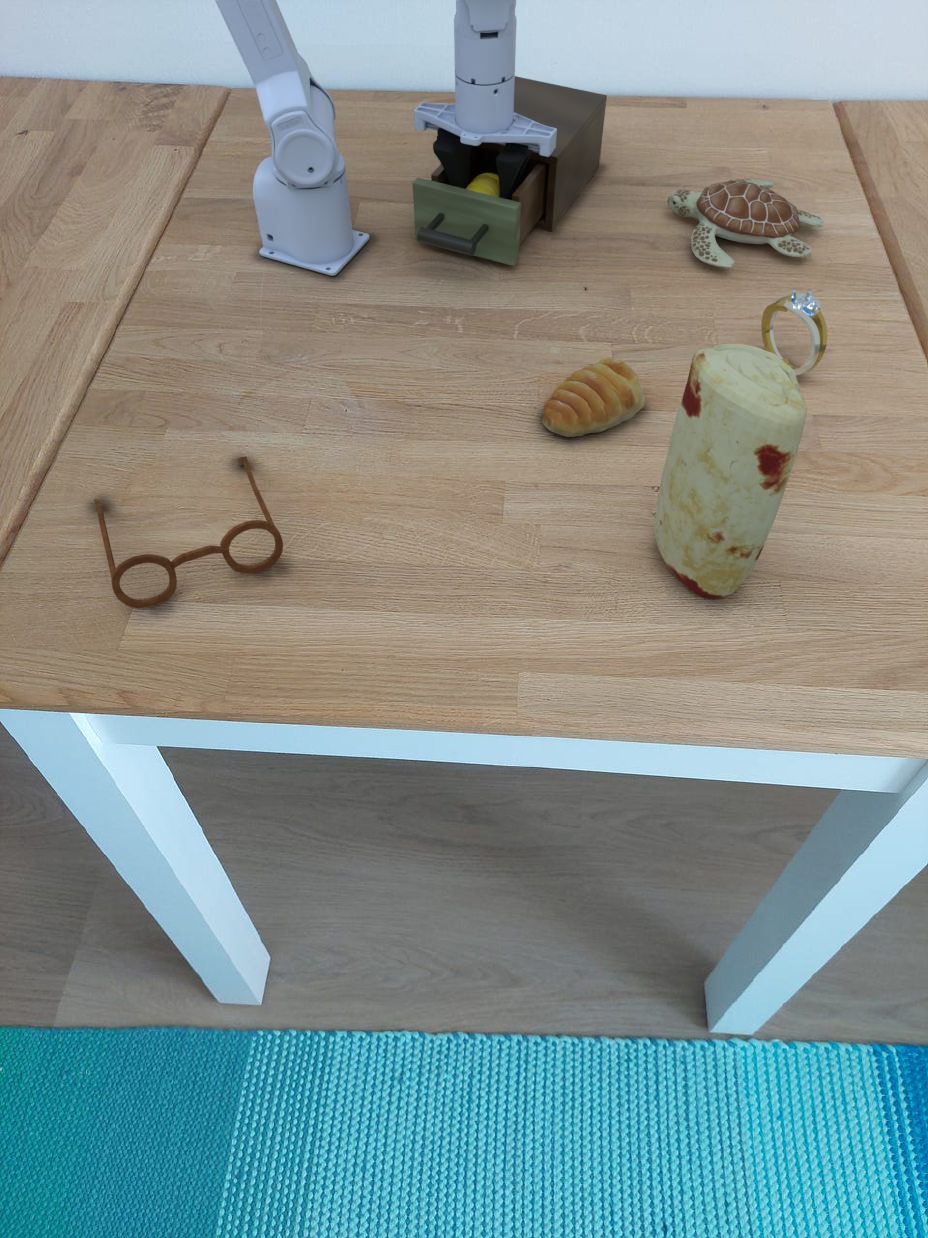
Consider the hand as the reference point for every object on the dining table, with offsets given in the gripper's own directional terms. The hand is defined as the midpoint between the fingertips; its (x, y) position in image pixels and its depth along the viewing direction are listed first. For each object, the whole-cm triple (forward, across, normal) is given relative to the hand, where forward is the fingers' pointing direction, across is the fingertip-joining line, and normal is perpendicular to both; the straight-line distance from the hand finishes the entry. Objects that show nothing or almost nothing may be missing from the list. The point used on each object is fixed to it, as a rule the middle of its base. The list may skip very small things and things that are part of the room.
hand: (483, 207), depth 99 cm
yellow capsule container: (+1, 0, 0) cm, 1 cm away
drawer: (+3, 0, 0) cm, 3 cm away
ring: (+4, +35, -10) cm, 36 cm away
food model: (+4, +34, -37) cm, 50 cm away
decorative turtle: (+4, +25, +12) cm, 28 cm away
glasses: (+4, -6, -49) cm, 50 cm away
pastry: (+4, +20, -22) cm, 30 cm away
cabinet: (+3, 0, +12) cm, 12 cm away
